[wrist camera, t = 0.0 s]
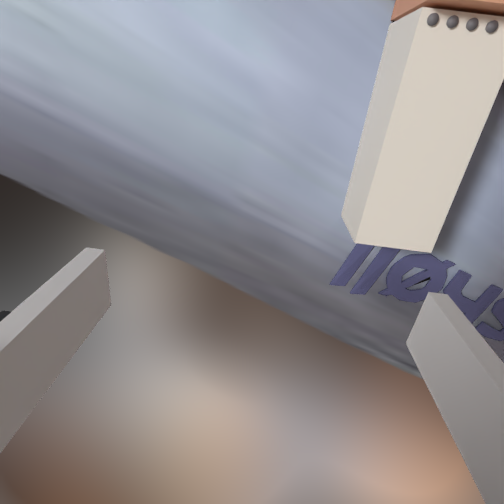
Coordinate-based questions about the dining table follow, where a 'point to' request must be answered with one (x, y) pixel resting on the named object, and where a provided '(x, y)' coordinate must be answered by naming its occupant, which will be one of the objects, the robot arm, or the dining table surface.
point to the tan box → (449, 6)
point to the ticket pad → (423, 125)
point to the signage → (432, 271)
